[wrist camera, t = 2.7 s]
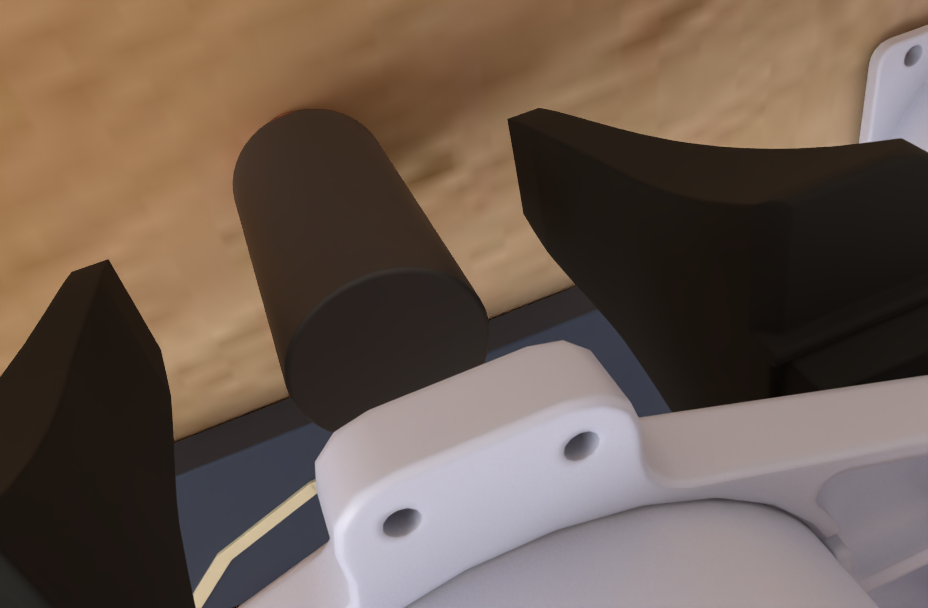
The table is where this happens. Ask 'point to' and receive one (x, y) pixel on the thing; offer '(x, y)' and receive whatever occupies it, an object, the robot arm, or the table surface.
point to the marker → (350, 269)
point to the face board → (300, 443)
